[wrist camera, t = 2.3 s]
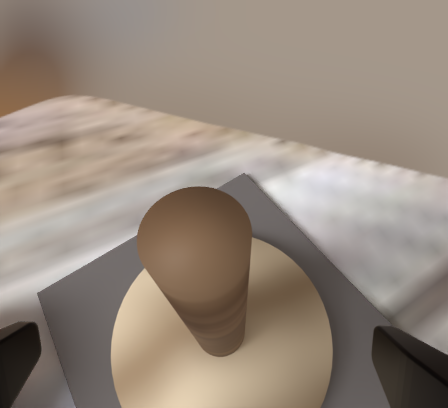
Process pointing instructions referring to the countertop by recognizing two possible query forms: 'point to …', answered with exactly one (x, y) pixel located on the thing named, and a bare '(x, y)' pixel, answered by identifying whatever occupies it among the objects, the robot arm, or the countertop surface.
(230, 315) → the disc with tall peg
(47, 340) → the countertop surface
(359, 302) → the mat
